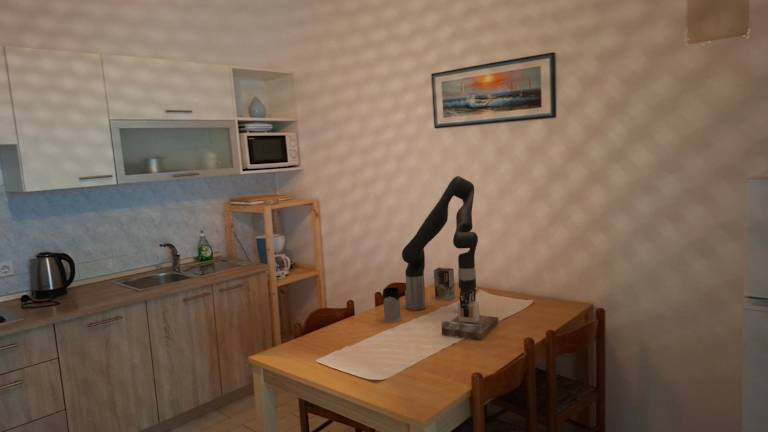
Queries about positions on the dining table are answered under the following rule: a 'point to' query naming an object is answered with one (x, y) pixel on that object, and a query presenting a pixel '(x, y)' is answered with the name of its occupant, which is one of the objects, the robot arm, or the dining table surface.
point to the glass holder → (391, 305)
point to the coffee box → (444, 283)
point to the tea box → (472, 312)
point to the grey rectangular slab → (470, 327)
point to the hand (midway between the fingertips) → (468, 314)
